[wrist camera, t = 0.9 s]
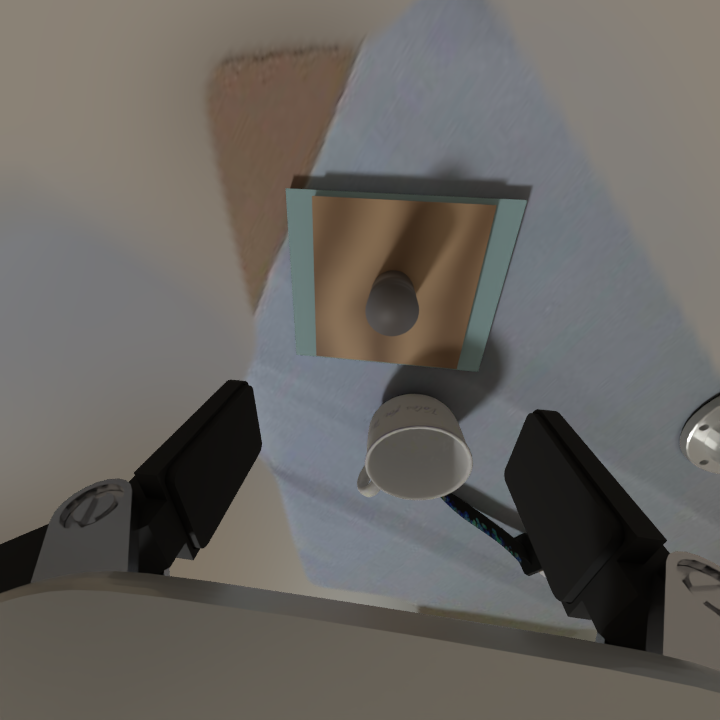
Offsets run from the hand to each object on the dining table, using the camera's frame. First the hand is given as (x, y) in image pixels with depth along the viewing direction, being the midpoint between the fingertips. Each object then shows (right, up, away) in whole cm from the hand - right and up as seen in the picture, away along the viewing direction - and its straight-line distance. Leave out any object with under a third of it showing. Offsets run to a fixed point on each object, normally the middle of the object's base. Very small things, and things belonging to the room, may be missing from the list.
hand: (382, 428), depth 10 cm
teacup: (+5, -6, +26) cm, 27 cm away
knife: (+22, -23, +33) cm, 46 cm away
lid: (+2, +9, +17) cm, 19 cm away
